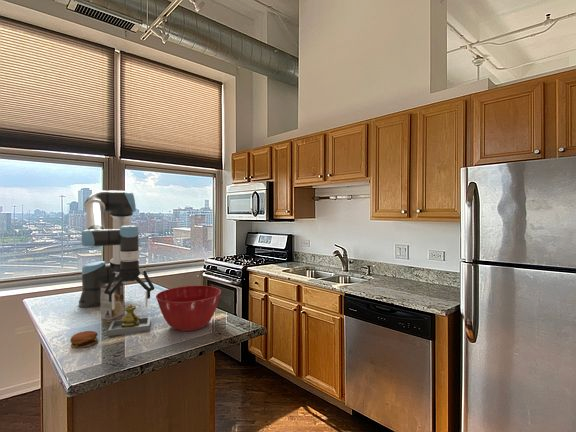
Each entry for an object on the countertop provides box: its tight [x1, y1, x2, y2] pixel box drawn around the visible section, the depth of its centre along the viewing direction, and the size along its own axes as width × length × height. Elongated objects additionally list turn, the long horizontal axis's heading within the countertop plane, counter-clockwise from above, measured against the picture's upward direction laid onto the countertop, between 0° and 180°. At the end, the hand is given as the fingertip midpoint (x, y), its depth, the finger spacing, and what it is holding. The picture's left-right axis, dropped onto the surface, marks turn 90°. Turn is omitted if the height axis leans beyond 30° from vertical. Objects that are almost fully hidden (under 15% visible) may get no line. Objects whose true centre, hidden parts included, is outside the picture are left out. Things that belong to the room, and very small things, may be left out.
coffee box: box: [100, 282, 125, 321], centre depth 167 cm, size 9×6×16 cm
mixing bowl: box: [155, 285, 222, 332], centre depth 153 cm, size 28×28×16 cm
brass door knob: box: [120, 304, 140, 328], centre depth 150 cm, size 7×7×10 cm
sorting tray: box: [107, 316, 151, 337], centre depth 150 cm, size 13×16×2 cm
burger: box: [70, 330, 99, 349], centre depth 133 cm, size 10×9×5 cm
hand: (130, 307), depth 151 cm, fingers open, 13 cm apart
